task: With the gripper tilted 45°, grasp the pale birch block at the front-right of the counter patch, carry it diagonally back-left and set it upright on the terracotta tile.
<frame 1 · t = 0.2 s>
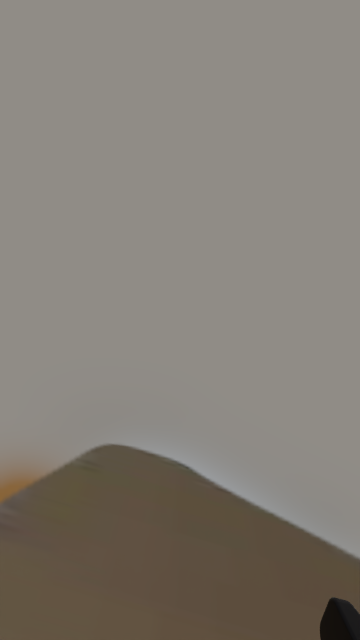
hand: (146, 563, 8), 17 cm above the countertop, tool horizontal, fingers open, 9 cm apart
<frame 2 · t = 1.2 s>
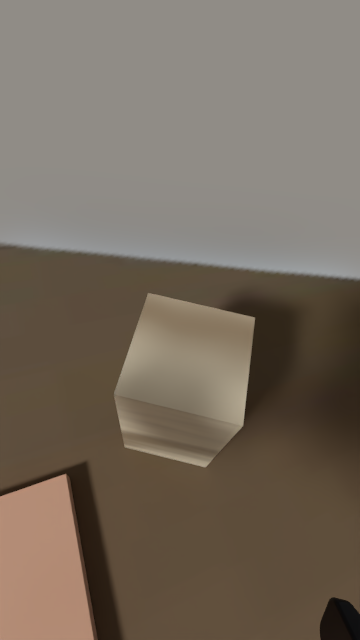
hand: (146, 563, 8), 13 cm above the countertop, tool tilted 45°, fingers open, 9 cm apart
birch block: (174, 417, 24), on the countertop
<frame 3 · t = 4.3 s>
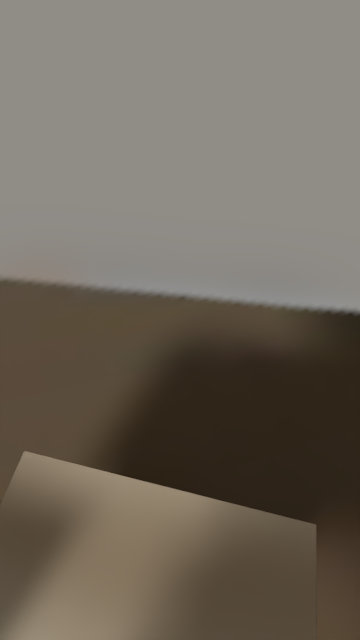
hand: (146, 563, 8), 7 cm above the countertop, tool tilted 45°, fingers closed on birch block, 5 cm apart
birch block: (136, 594, 13), on the countertop, touching gripper
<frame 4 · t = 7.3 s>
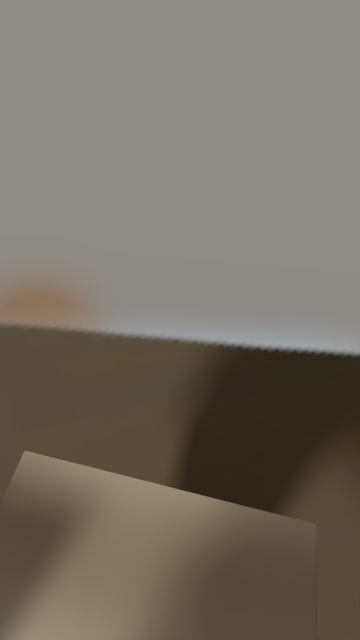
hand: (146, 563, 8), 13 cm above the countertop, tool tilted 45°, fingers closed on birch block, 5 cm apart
birch block: (136, 593, 13), point 6 cm above the countertop, touching gripper
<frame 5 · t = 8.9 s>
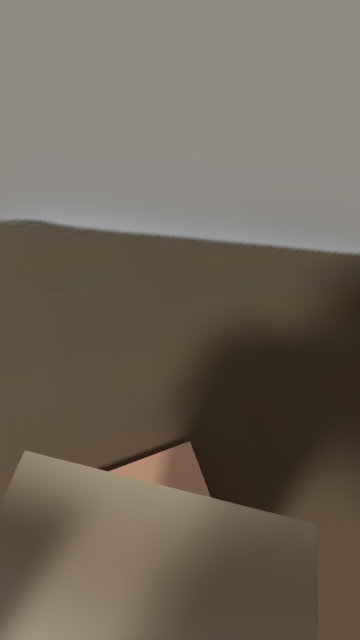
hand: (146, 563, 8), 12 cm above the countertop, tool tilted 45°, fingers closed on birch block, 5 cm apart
birch block: (136, 593, 13), point 6 cm above the countertop, touching gripper
terracotta tile: (129, 583, 18), on the countertop
when the fingers open (9 cm above the countertop, at t = 10.5 s): birch block drops 1 cm, resting on terracotta tile.
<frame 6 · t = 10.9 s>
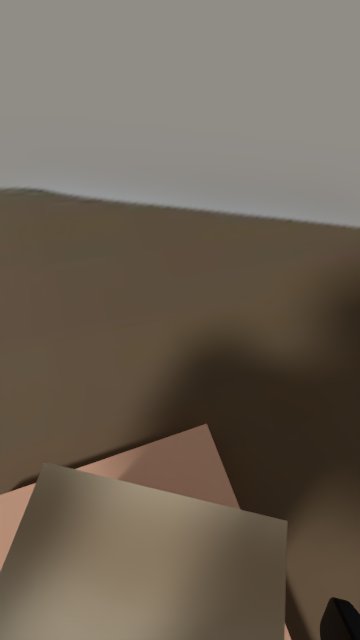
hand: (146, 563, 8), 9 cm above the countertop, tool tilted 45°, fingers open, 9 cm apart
birch block: (137, 586, 14), point 1 cm above the countertop, touching terracotta tile
terracotta tile: (137, 585, 15), on the countertop
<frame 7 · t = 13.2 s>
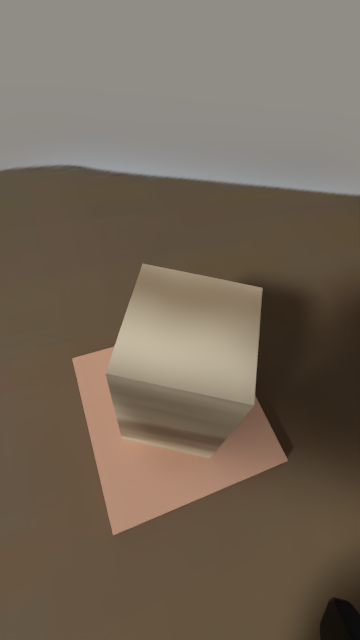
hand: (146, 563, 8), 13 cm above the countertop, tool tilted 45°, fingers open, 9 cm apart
birch block: (174, 405, 22), point 1 cm above the countertop, touching terracotta tile
terracotta tile: (172, 412, 23), on the countertop
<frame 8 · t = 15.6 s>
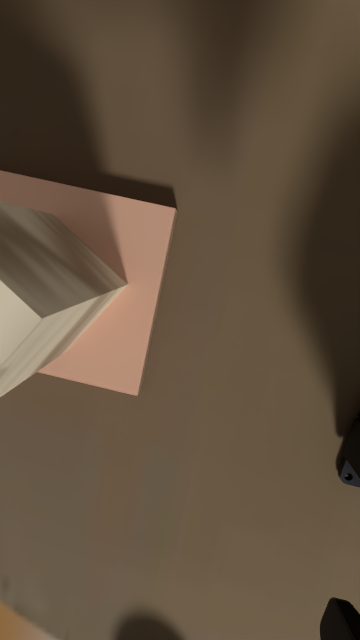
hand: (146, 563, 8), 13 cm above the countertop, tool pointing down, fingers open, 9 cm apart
birch block: (61, 285, 19), point 1 cm above the countertop, touching terracotta tile
terracotta tile: (70, 284, 20), on the countertop
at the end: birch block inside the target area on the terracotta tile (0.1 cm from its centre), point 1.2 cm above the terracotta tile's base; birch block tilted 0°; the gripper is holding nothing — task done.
